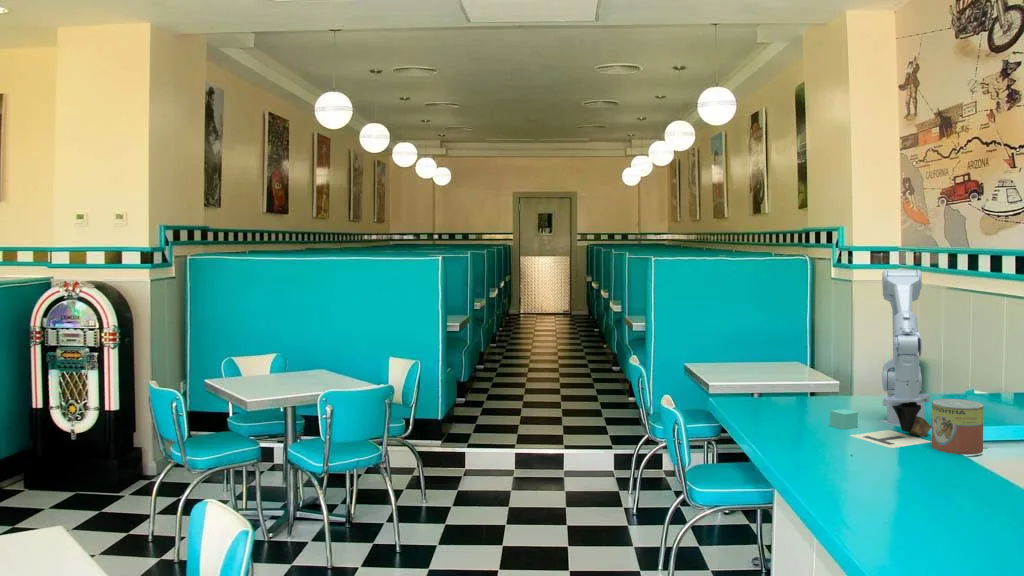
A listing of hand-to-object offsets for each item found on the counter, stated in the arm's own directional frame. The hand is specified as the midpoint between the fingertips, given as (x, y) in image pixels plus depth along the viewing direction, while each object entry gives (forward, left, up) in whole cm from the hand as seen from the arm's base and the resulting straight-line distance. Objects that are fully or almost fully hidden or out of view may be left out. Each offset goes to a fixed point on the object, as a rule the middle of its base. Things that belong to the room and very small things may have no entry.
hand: (906, 431), depth 207 cm
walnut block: (-2, 0, -1) cm, 2 cm away
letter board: (+6, 0, -2) cm, 6 cm away
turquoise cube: (+7, -15, -2) cm, 17 cm away
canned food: (-1, +14, -2) cm, 14 cm away
